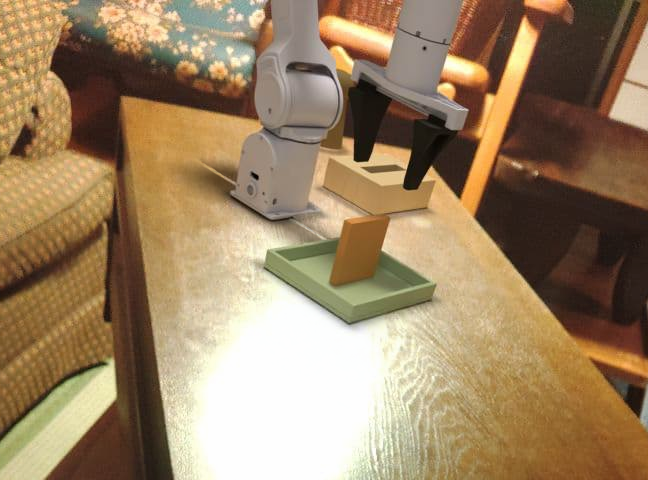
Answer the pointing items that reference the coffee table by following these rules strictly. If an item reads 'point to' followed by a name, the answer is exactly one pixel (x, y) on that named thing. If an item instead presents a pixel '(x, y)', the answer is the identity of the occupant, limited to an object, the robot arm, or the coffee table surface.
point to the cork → (336, 133)
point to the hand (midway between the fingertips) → (385, 174)
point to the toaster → (376, 184)
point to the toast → (359, 248)
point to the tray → (355, 297)
